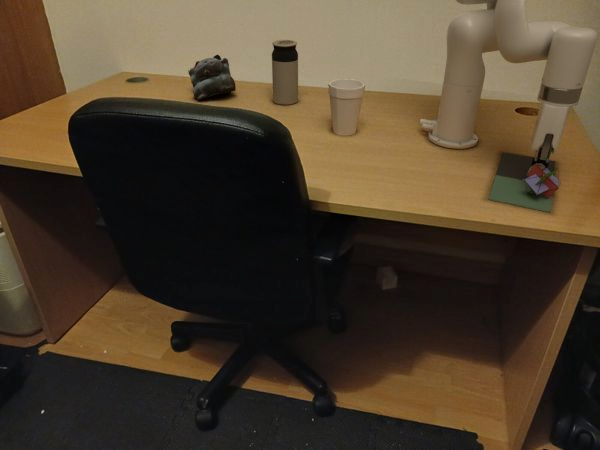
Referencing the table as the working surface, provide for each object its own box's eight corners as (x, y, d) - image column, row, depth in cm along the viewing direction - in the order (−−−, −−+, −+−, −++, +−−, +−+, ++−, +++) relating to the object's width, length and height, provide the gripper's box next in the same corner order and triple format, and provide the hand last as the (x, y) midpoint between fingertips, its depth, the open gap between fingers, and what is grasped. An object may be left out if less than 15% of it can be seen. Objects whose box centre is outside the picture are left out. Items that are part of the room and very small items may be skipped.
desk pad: (488, 199, 101) (488, 198, 100) (502, 153, 120) (502, 152, 120) (550, 212, 96) (550, 211, 96) (554, 162, 116) (555, 161, 116)
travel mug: (302, 100, 154) (303, 41, 144) (289, 107, 148) (288, 46, 138) (282, 95, 157) (281, 38, 148) (268, 102, 152) (266, 43, 142)
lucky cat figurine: (187, 102, 151) (176, 58, 150) (202, 105, 163) (192, 64, 161) (231, 90, 148) (220, 44, 146) (243, 94, 159) (233, 52, 158)
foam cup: (366, 128, 134) (369, 81, 127) (355, 140, 127) (358, 91, 120) (334, 122, 137) (336, 77, 130) (322, 134, 130) (323, 86, 123)
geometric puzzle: (574, 192, 98) (563, 155, 97) (550, 204, 96) (538, 166, 95) (546, 194, 104) (535, 160, 104) (522, 205, 102) (511, 170, 102)
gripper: (539, 82, 103) (520, 161, 112) (537, 102, 91) (515, 188, 101) (578, 86, 100) (555, 166, 110) (581, 107, 89) (555, 194, 98)
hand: (536, 176), depth 105 cm, fingers closed
